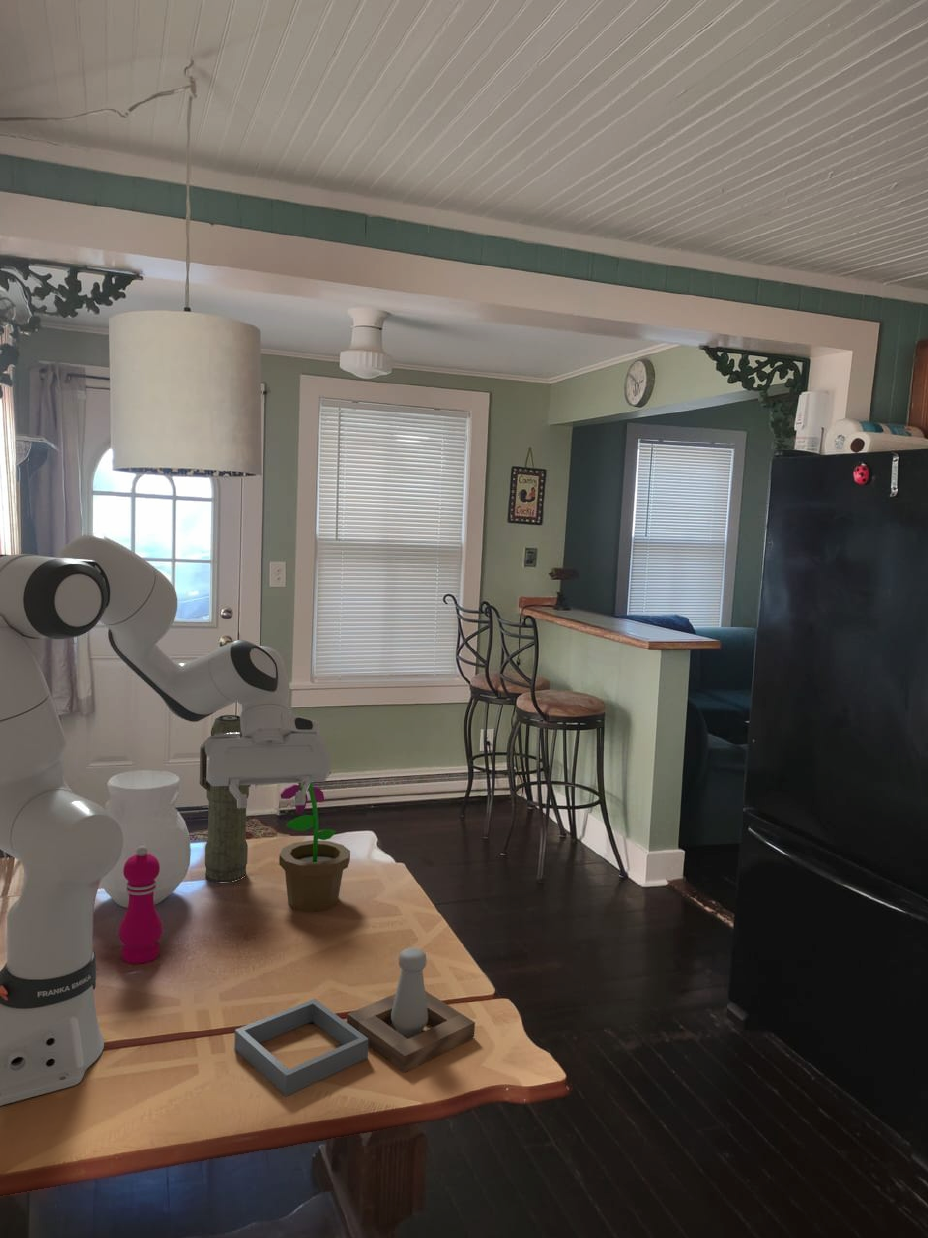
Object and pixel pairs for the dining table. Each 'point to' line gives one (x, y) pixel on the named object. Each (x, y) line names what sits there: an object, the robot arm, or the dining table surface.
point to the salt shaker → (410, 994)
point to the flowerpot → (312, 859)
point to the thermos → (224, 818)
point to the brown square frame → (419, 1048)
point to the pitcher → (148, 830)
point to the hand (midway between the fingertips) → (271, 805)
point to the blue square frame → (312, 1069)
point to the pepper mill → (140, 909)
